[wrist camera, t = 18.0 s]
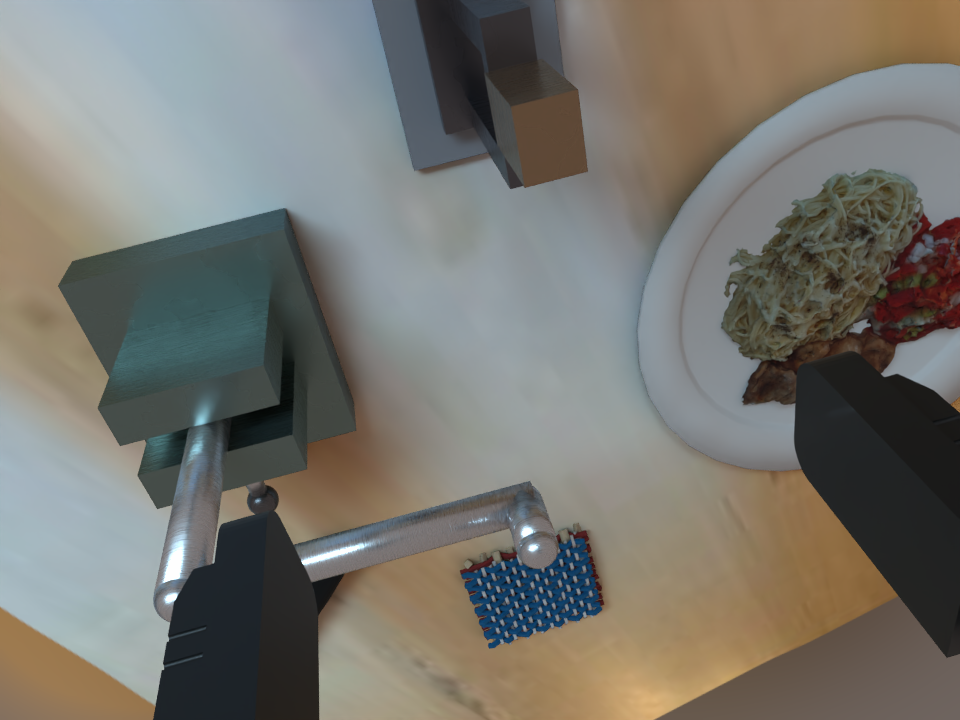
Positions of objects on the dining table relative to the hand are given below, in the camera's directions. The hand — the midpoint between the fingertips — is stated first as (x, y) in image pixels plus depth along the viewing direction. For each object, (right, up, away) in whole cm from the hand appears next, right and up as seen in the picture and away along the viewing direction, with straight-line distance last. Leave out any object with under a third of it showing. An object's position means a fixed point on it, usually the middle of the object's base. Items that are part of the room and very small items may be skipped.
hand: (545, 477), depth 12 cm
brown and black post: (-1, +18, +29) cm, 34 cm away
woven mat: (+3, -16, +53) cm, 56 cm away
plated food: (+24, +7, +42) cm, 49 cm away
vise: (-12, +4, +36) cm, 38 cm away
